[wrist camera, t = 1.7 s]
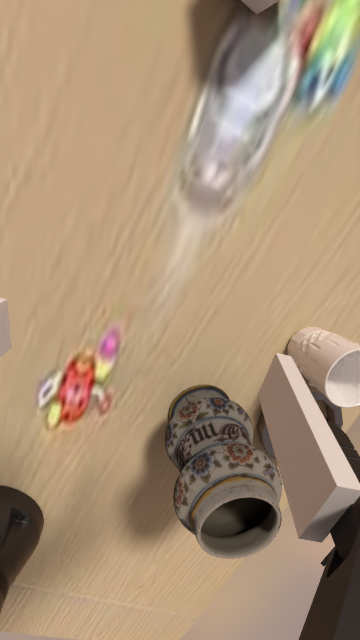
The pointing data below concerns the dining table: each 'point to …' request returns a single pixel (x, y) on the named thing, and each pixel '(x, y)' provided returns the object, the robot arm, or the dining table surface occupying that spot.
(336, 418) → the collar ring
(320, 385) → the white cup
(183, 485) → the apothecary jar
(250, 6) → the die
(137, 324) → the dining table surface
